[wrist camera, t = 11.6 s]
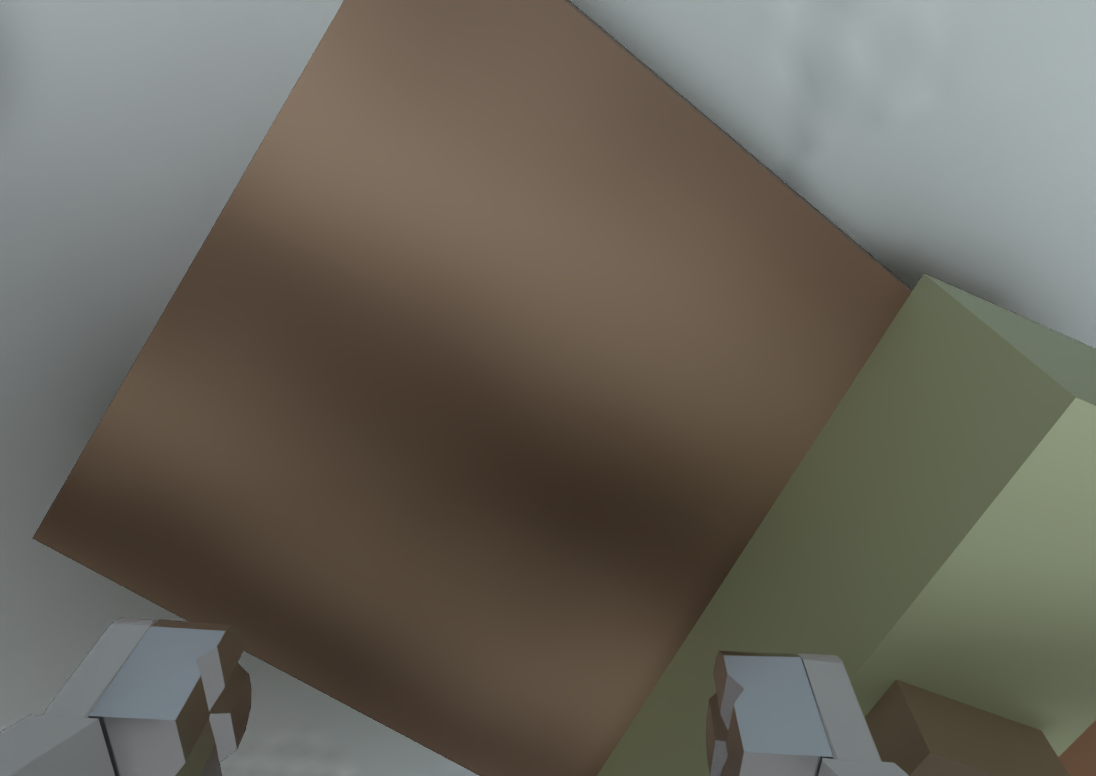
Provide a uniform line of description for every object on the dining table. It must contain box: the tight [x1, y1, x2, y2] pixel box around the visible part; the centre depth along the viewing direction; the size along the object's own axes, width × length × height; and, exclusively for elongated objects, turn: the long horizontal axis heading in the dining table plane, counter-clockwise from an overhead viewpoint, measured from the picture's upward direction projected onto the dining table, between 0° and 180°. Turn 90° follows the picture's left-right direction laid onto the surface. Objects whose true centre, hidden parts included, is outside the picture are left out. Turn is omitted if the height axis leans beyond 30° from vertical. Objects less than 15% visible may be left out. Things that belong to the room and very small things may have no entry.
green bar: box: [597, 274, 1096, 776], centre depth 14 cm, size 14×4×6 cm, turn 157°
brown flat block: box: [33, 0, 913, 776], centre depth 17 cm, size 14×16×3 cm
